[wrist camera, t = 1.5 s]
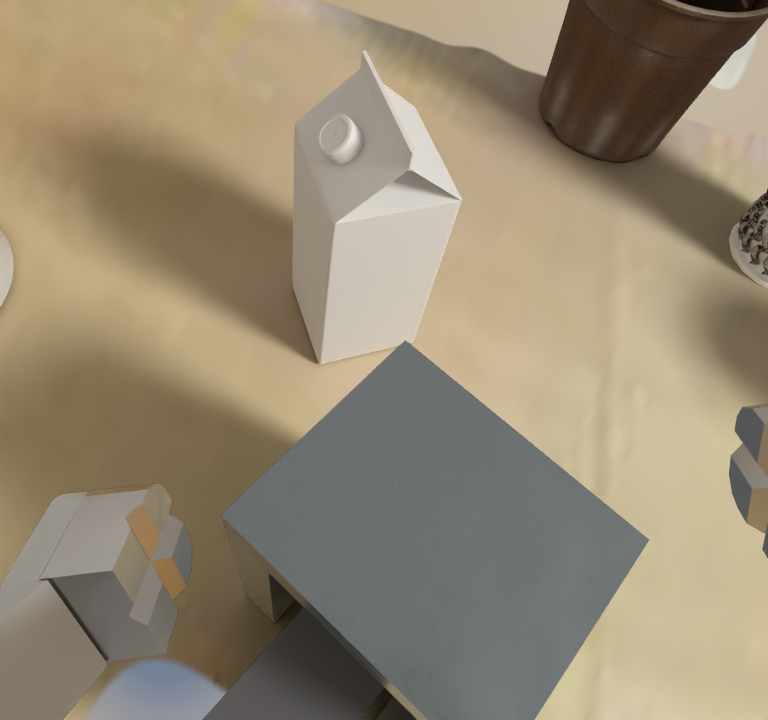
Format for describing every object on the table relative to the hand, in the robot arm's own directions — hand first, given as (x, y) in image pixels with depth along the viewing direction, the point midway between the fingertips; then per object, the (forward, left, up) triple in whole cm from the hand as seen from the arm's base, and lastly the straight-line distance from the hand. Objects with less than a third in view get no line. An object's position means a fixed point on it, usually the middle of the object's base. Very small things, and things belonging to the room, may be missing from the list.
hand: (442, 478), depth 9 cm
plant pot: (+14, +51, -31) cm, 61 cm away
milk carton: (-4, +23, -31) cm, 39 cm away
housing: (+2, +4, -31) cm, 31 cm away
